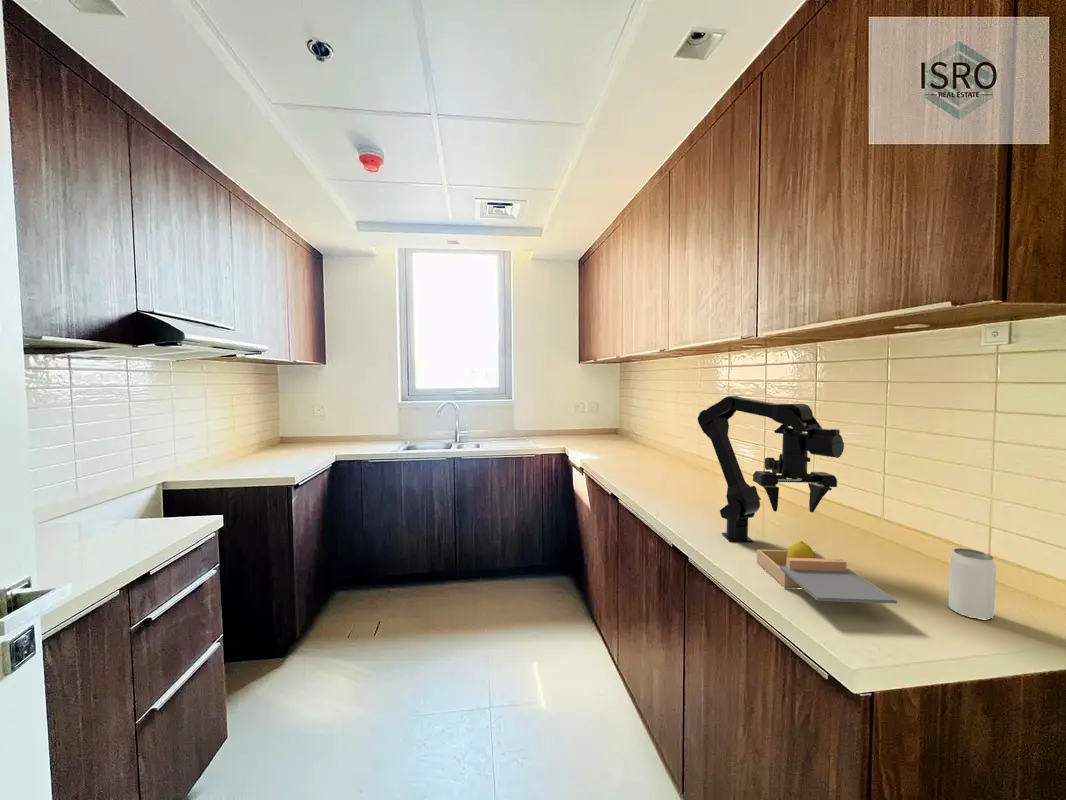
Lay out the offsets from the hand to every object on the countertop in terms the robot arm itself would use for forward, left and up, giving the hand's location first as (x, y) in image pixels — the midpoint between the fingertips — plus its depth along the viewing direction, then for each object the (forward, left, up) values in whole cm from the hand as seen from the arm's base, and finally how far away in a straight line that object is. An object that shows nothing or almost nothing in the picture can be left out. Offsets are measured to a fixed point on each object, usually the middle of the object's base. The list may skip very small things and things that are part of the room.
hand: (793, 511), depth 117 cm
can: (+27, +21, -12) cm, 36 cm away
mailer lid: (+25, -4, -8) cm, 26 cm away
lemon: (+12, -4, -12) cm, 17 cm away
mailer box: (+12, -4, -12) cm, 17 cm away
